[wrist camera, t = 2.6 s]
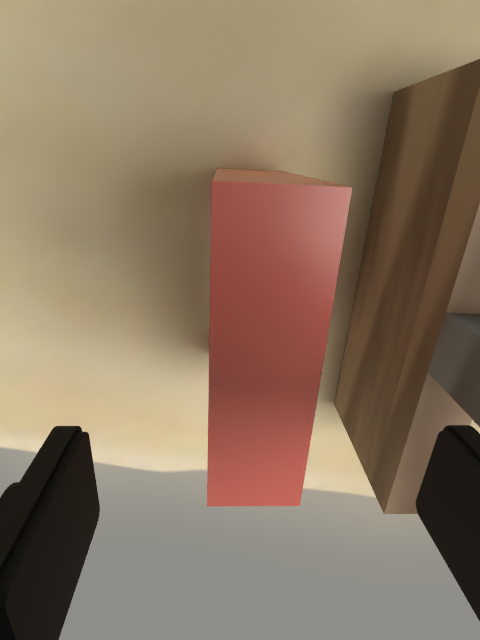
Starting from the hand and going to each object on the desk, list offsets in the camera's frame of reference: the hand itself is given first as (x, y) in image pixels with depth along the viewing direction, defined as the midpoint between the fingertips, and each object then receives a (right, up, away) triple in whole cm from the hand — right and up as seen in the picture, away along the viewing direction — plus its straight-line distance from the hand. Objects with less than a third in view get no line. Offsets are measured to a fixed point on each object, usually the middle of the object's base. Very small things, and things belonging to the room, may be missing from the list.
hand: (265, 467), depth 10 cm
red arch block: (0, +7, +15) cm, 17 cm away
